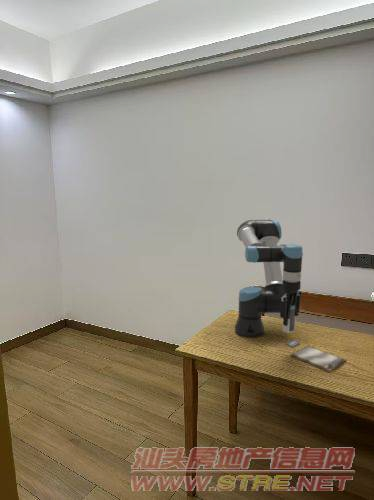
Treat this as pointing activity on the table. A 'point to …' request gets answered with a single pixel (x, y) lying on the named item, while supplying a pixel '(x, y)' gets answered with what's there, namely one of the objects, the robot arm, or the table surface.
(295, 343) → the word card
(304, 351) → the clipboard
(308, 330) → the table surface
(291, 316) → the marker
